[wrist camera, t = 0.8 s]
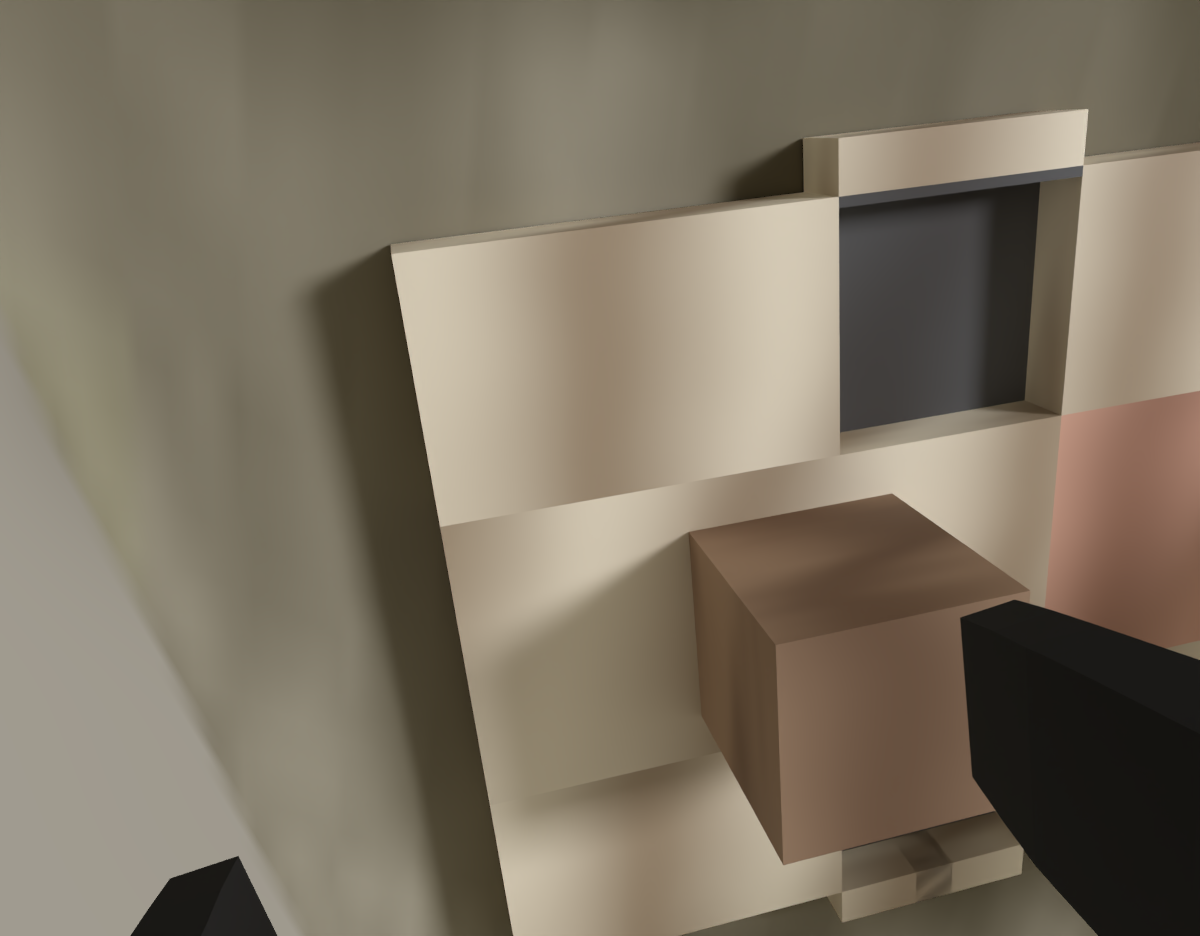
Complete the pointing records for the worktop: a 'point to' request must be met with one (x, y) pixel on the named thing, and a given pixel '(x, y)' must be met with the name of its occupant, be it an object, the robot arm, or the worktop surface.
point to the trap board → (792, 470)
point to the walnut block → (841, 669)
